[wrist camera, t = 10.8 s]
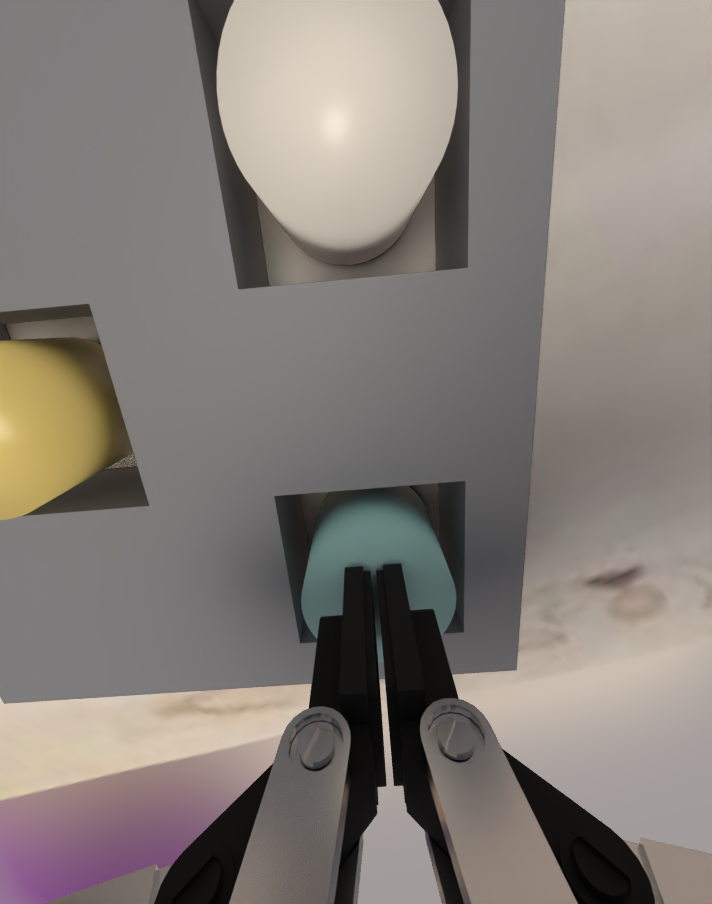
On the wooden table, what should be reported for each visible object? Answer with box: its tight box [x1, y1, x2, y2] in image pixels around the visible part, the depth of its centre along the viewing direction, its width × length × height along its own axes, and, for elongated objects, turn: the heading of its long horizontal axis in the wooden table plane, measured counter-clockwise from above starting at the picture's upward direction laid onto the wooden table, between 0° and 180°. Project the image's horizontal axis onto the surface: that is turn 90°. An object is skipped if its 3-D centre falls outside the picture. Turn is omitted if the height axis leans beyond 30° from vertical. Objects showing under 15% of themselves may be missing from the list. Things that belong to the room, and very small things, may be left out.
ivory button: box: [217, 0, 458, 265], centre depth 9 cm, size 5×5×4 cm
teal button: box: [301, 486, 456, 663], centre depth 13 cm, size 5×5×4 cm
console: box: [0, 0, 565, 704], centre depth 13 cm, size 20×22×4 cm
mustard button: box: [0, 337, 133, 520], centre depth 11 cm, size 5×5×4 cm
